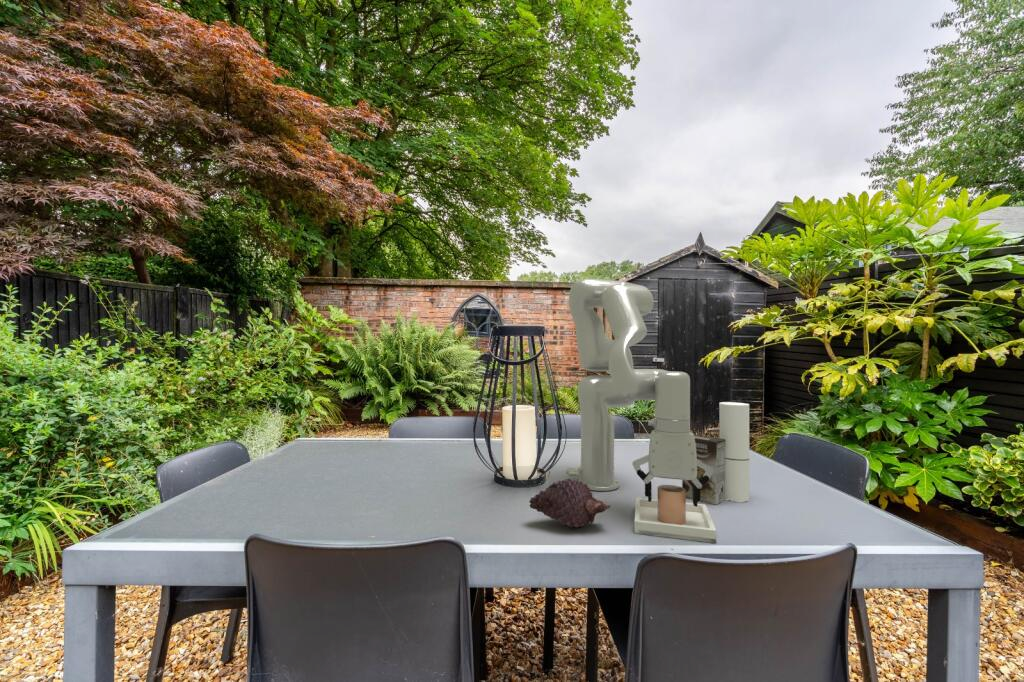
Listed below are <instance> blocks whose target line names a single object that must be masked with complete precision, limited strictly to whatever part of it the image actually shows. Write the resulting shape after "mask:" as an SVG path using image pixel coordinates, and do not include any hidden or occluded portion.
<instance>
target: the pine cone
mask: <svg viewBox="0 0 1024 682" xmlns="http://www.w3.org/2000/svg"><path fill="white" fill-rule="evenodd" d="M528 502H529V503H530V504H529V507H530V509H532V510H536V511H537V512H539V513H542V514H544V516H547V517H549V518H550V519H552V520H556V521H560V524H562V525H565V526H568V527H569V528H574V527H575V528H580V527H585V526H586V525H588V524H593V523H594V521H595V519H596V515H598V514H600V513H604V512H605V511H606V510H607V509H609V508H611V506H612V505H611V504H608V505H607V504H605V503H604V502H603V501H602V500H598V499H597V498H594V496H593V493H592V492H591V490H590V488H588V486H587V485H584V484H583V483H582V482H581V481H576V480H575V479H572V480H571V479H570V478H567V479H566V480H558V481H557V482H553V483H552V484H550V485H548V486H547V487H546V488H545V490H540V491H539V493H538V494H535V496H533V497H530V500H529V501H528Z"/></svg>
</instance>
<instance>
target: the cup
mask: <svg viewBox="0 0 1024 682" xmlns="http://www.w3.org/2000/svg"><path fill="white" fill-rule="evenodd" d="M657 500H658V520H659V521H660V522H662V523H668V524H677V525H683V524H685V523H686V503H687V497H686V490H685V489H684V488H682V486H680V485H675V484H674V485H673V484H660V485H658V486H657Z"/></svg>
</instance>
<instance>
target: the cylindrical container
mask: <svg viewBox="0 0 1024 682" xmlns="http://www.w3.org/2000/svg"><path fill="white" fill-rule="evenodd" d="M718 406H719V407H718V410H719V411H718V413H719V416H718V417H719V418H718V419H719V434H718V435H719V437H718V438H720V439H725V485H724V486H725V488H724V498H725V499H727V500H726V501H728V500H731V501H730V502H732V501H737V502H736V503H746V502H745V501H748V502H750V403H744V402H736V401H733V402H732V401H722V402H719V405H718Z"/></svg>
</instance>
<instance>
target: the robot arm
mask: <svg viewBox="0 0 1024 682" xmlns="http://www.w3.org/2000/svg"><path fill="white" fill-rule="evenodd" d="M654 300H655V299H654V296H653V294H652V292H651V290H650V289H649V288H647V287H646V286H644V285H640V284H635V283H631V282H627V281H622V280H613V279H603V278H602V279H601V278H582V279H578V280H577V281H575V282H574V283H573V284H572V285H571V287H570V290H569V295H568V307H569V312H570V316H571V319H572V321H573V324H574V328H575V336H576V344H577V353H578V359H579V364H580V367H581V368H582V369H583V370H585V371H589V372H609V374H597V375H590V376H589V375H588V376H585V377H584V378H582V379H581V380H580V381H579V383H578V385H577V397H578V403H579V409H580V410H579V411H580V466H579V467H576V468H574V467H566V468H565V475H568V477H576V478H575V479H574V480H576V481H581V482H582V483H583V484H584V485H587V486H588V488H590V491H595V492H606V491H607V492H609V491H614V490H617V489H618V488H620V485H621V484H620V481H619V479H617V478H616V477H615V422H614V419H613V418H612V416H611V414H610V412H609V410H608V409H610V408H612V409H613V408H626V407H630V406H631V405H633V404H634V403H635V402H636V401H637V402H638V401H654V418H652V419H648V420H647V423H648V424H647V425H648V426H651V427H653V428H654V429H653V430H651V432H650V437H649V447H648V454H647V455H645V456H642V457H640V458H637V459H635V460H632V463H631V464H632V467H633V469H634V470H635V472H636V474H637V476H638V477H639V478H640V479H641V480H642V481H643V483H644V497H645V498H646V497H647V499H648V502H651V499H652V488H653V487H652V480H653V479H654V478H657V479H658V478H659V479H668V480H669V479H671V480H679V481H680V480H681V481H682V480H691V481H692V482H693V483H694V484H693V499H692V503H693V505H694V506H696V507H697V504H698V502H699V503H700V502H701V501H700V488H702V486H703V485H704V484H706V483H707V482H708V481H709V479H710V477H711V476H712V474H713V472H714V469H713V467H711V466H709V465H707V464H706V463H704V462H702V461H700V460H698V459H697V454H696V444H695V438H694V433H693V432H691V378H690V375H689V374H688V373H687V372H684V371H677V370H676V371H674V370H672V371H671V370H670V371H669V370H666V369H661V368H634V359H633V355H632V351H631V348H630V347H632V346H634V345H637V344H638V343H640V342H641V341H643V339H644V338H646V336H647V333H648V328H647V326H646V323H645V321H644V318H643V317H644V316H647V315H649V314H650V313H651V312H652V310H653V307H654V303H655V302H654ZM594 308H599V309H603V311H604V313H605V316H606V319H607V322H608V325H609V327H610V329H611V333H612V336H613V338H614V339H608V338H607V337H606V332H605V324H604V322H603V321H602V319H601V317H600V315H599V314H598V313H597V312H596V311H595V310H594ZM647 463H648V472H646V473H645V471H643V470H642V468H641V465H644V464H647ZM697 466H698V467H700V468H702V469H704V470H705V473H704V475H703V476H701V477H700V478H699V479H698V478H697Z"/></svg>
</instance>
